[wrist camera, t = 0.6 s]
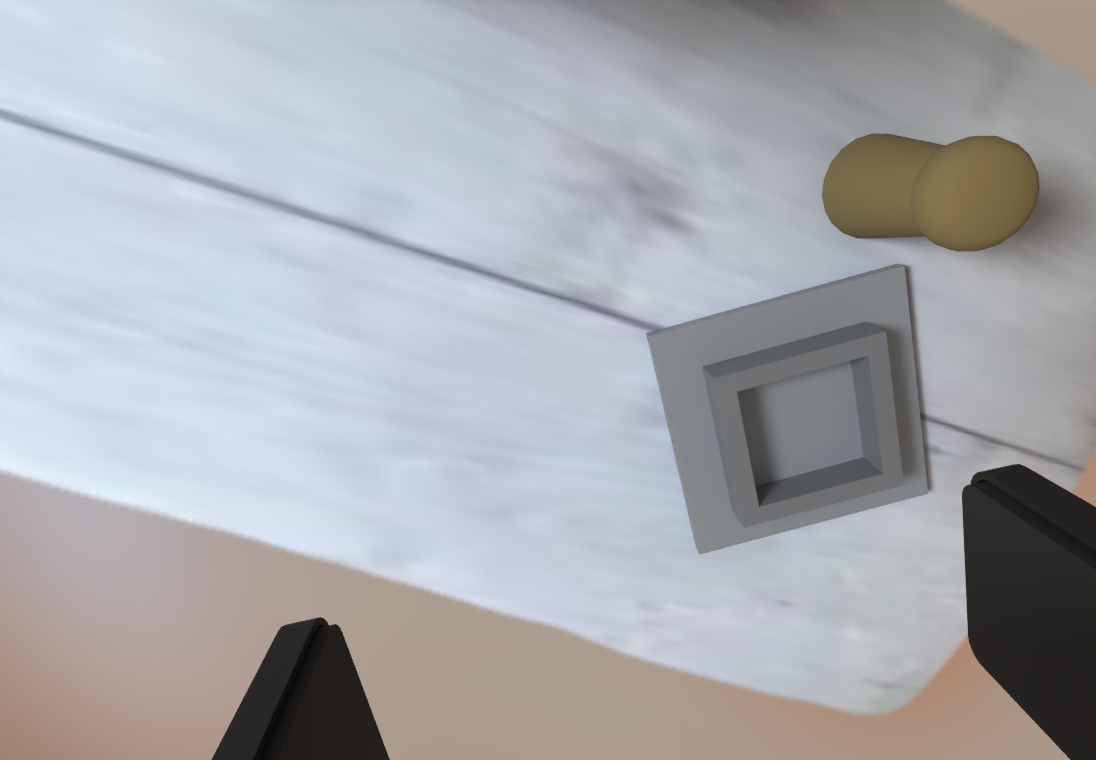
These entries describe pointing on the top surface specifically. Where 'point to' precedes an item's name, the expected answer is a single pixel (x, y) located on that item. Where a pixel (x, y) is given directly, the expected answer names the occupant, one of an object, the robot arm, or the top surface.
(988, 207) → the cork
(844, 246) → the top surface
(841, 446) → the bay base
